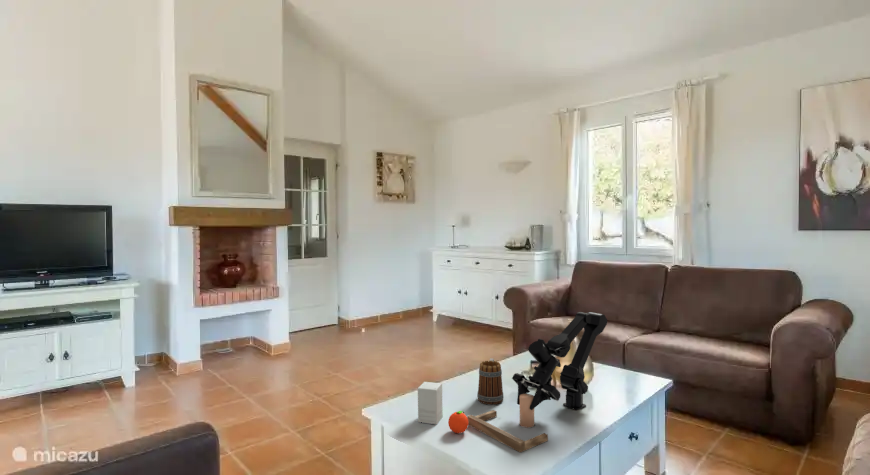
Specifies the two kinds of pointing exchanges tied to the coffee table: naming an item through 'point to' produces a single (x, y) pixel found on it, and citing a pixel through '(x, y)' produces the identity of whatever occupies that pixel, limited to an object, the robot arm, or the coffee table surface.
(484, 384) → the mug
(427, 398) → the supplement box
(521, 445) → the bay
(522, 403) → the tan cylinder
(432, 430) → the coffee table surface
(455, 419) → the clementine
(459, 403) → the coffee table surface
